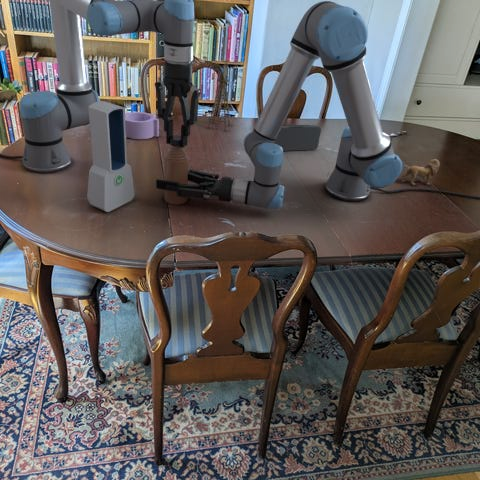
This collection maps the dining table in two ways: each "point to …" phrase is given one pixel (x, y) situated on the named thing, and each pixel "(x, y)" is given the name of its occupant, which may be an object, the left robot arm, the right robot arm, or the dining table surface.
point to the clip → (141, 125)
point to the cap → (175, 140)
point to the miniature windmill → (222, 80)
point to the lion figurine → (422, 171)
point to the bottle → (175, 172)
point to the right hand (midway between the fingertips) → (160, 178)
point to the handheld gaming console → (298, 137)
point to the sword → (395, 134)
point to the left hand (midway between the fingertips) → (176, 144)
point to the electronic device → (109, 158)
